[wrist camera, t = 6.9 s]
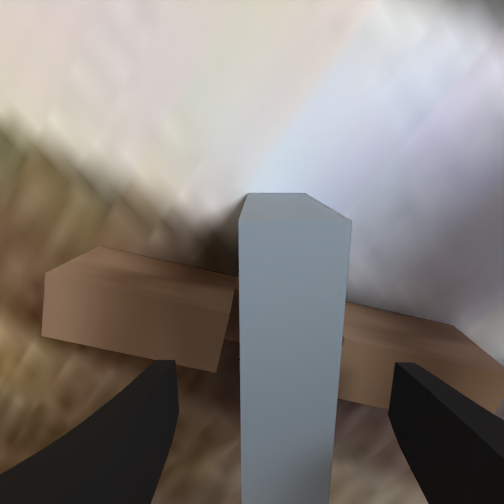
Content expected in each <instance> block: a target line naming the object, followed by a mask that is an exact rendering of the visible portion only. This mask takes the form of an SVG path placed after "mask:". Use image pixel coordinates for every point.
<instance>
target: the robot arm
mask: <svg viewBox="0 0 504 504" xmlns="http://www.w3.org/2000/svg"><path fill="white" fill-rule="evenodd" d="M178 414H179V405H178V391H177V377H176V364H175V360H156V361H155V362H154V363H152V364H151V365H150V366H149V367H148V368H147V369H146V370H145V371H143V372H142V373H141V374H140V375H139V376H138V377H137V378H136V379H134V380H133V381H132V382H131V383H130V384H129V385H128V386H126V387H125V388H124V389H123V390H122V391H121V392H119V393H118V394H117V395H116V396H115V397H114V398H112V399H111V400H110V401H109V402H107V403H106V404H105V405H104V406H102V407H101V408H100V409H99V410H97V411H96V412H95V413H93V414H92V415H91V416H90V417H88V418H87V419H86V420H85V421H83V422H82V423H81V424H79V425H78V426H76V427H75V428H74V429H72V430H71V431H69V432H68V433H67V434H65V435H64V436H62V437H61V438H59V439H58V440H56V441H55V442H53V443H52V444H50V445H49V446H47V447H46V448H44V449H43V450H41V451H39V452H38V453H36V454H34V455H33V456H31V457H29V458H28V459H26V460H24V461H23V462H21V463H19V464H18V465H16V466H14V467H13V468H11V469H9V470H7V471H6V472H4V473H2V474H1V475H0V504H151V501H152V498H153V495H154V492H155V490H156V487H157V484H158V481H159V478H160V476H161V473H162V470H163V467H164V464H165V461H166V459H167V456H168V453H169V450H170V447H171V444H172V440H173V436H174V432H175V428H176V423H177V419H178ZM388 416H389V419H390V422H391V425H392V427H393V430H394V433H395V436H396V438H397V441H398V443H399V446H400V448H401V450H402V452H403V454H404V456H405V458H406V460H407V462H408V464H409V466H410V468H411V470H412V472H413V474H414V476H415V478H416V480H417V482H418V484H419V486H420V488H421V490H422V492H423V494H424V495H425V497H426V499H427V501H428V503H429V504H504V420H502V419H501V418H499V417H497V416H496V415H494V414H493V413H491V412H489V411H488V410H486V409H485V408H483V407H482V406H480V405H478V404H477V403H475V402H474V401H472V400H471V399H469V398H468V397H466V396H465V395H463V394H462V393H460V392H459V391H457V390H456V389H454V388H453V387H451V386H450V385H448V384H447V383H445V382H444V381H442V380H441V379H439V378H438V377H436V376H435V375H433V374H432V373H430V372H429V371H427V370H426V369H424V368H422V367H421V366H419V365H417V364H416V363H412V362H395V367H394V374H393V381H392V389H391V396H390V404H389V411H388Z"/></svg>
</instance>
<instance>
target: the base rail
mask: <svg viewBox="0 0 504 504" xmlns="http://www.w3.org/2000/svg"><path fill="white" fill-rule="evenodd" d="M41 336H44V337H49V338H53V339H58V340H63V341H68V342H72V343H77V344H82V345H87V346H91V347H96V348H101V349H105V350H110V351H115V352H120V353H124V354H129V355H134V356H139V357H143V358H148V359H153V360H175V364H176V365H181V366H186V367H191V368H195V369H200V370H205V371H209V372H214V373H216V371H217V367H218V362H219V358H220V354H221V350H222V345H223V341H224V340H229V341H234V342H238V343H240V319H239V277H235V276H230V275H226V274H221V273H217V272H212V271H208V270H204V269H199V268H195V267H190V266H186V265H181V264H177V263H172V262H168V261H164V260H159V259H155V258H150V257H146V256H141V255H137V254H132V253H128V252H124V251H119V250H115V249H110V248H106V247H101V246H98V247H96V248H94V249H92V250H90V251H88V252H86V253H84V254H82V255H80V256H78V257H76V258H74V259H72V260H70V261H68V262H66V263H64V264H62V265H60V266H58V267H56V268H54V269H52V270H50V271H48V272H46V273H45V286H44V302H43V318H42V333H41ZM395 362H412V363H416V364H417V365H419V366H421V367H422V368H424V369H426V370H427V371H429V372H430V373H432V374H433V375H435V376H436V377H438V378H439V379H441V380H442V381H444V382H445V383H447V384H448V385H450V386H451V387H453V388H454V389H456V390H457V391H459V392H460V393H462V394H463V395H465V396H466V397H468V398H469V399H471V400H472V401H474V402H475V403H477V404H478V405H480V406H482V407H483V408H485V409H486V410H488V411H489V412H491V413H493V414H494V415H495V413H496V411H497V410H498V408H499V406H500V404H501V402H502V400H503V398H504V367H503V366H502V365H500V364H499V363H498V362H497V361H496V360H494V359H493V358H492V357H491V356H490V355H488V354H487V353H486V352H485V351H483V350H482V349H481V348H480V347H479V346H477V345H476V344H475V343H474V342H472V341H471V340H470V339H469V338H468V337H466V336H465V335H464V334H463V333H462V332H460V331H459V330H458V329H457V328H455V327H454V326H452V325H448V324H443V323H439V322H434V321H430V320H425V319H421V318H417V317H412V316H408V315H403V314H399V313H394V312H390V311H386V310H381V309H377V308H372V307H368V306H363V305H359V304H354V303H350V302H346V301H345V312H344V324H343V336H342V348H341V360H340V372H339V384H338V397H337V399H342V400H347V401H351V402H356V403H361V404H366V405H370V406H375V407H380V408H384V409H389V404H390V396H391V389H392V381H393V374H394V367H395Z"/></svg>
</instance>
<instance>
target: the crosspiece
mask: <svg viewBox="0 0 504 504" xmlns="http://www.w3.org/2000/svg"><path fill="white" fill-rule="evenodd" d="M351 228H352V220H350V219H348V218H346V217H345V216H343V215H341V214H340V213H338V212H336V211H335V210H333V209H331V208H329V207H328V206H326V205H324V204H323V203H321V202H319V201H318V200H316V199H314V198H312V197H311V196H309V195H307V194H306V193H248V194H247V197H246V200H245V203H244V206H243V209H242V212H241V214H240V217H239V220H238V231H239V319H240V408H241V496H242V504H329V493H330V481H331V469H332V457H333V445H334V433H335V421H336V409H337V397H338V384H339V372H340V360H341V348H342V336H343V324H344V312H345V300H346V288H347V276H348V264H349V252H350V240H351Z"/></svg>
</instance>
